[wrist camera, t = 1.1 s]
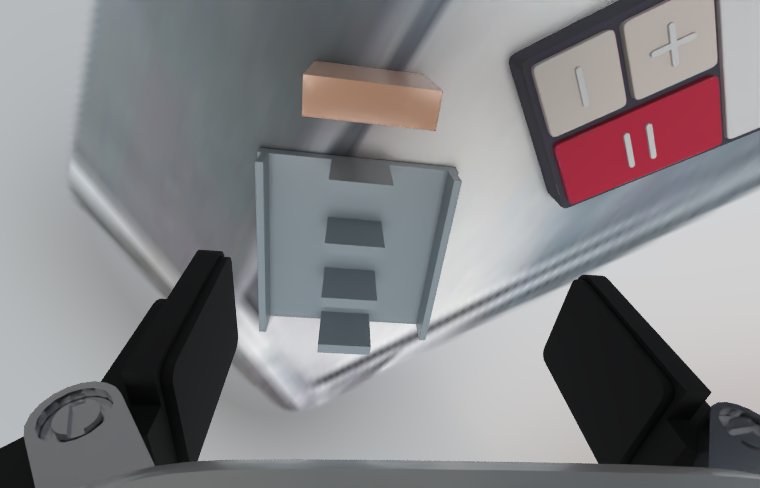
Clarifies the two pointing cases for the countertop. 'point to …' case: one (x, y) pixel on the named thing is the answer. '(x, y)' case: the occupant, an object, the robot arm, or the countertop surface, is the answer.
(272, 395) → the countertop surface
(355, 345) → the rack
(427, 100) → the tile
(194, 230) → the countertop surface
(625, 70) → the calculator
